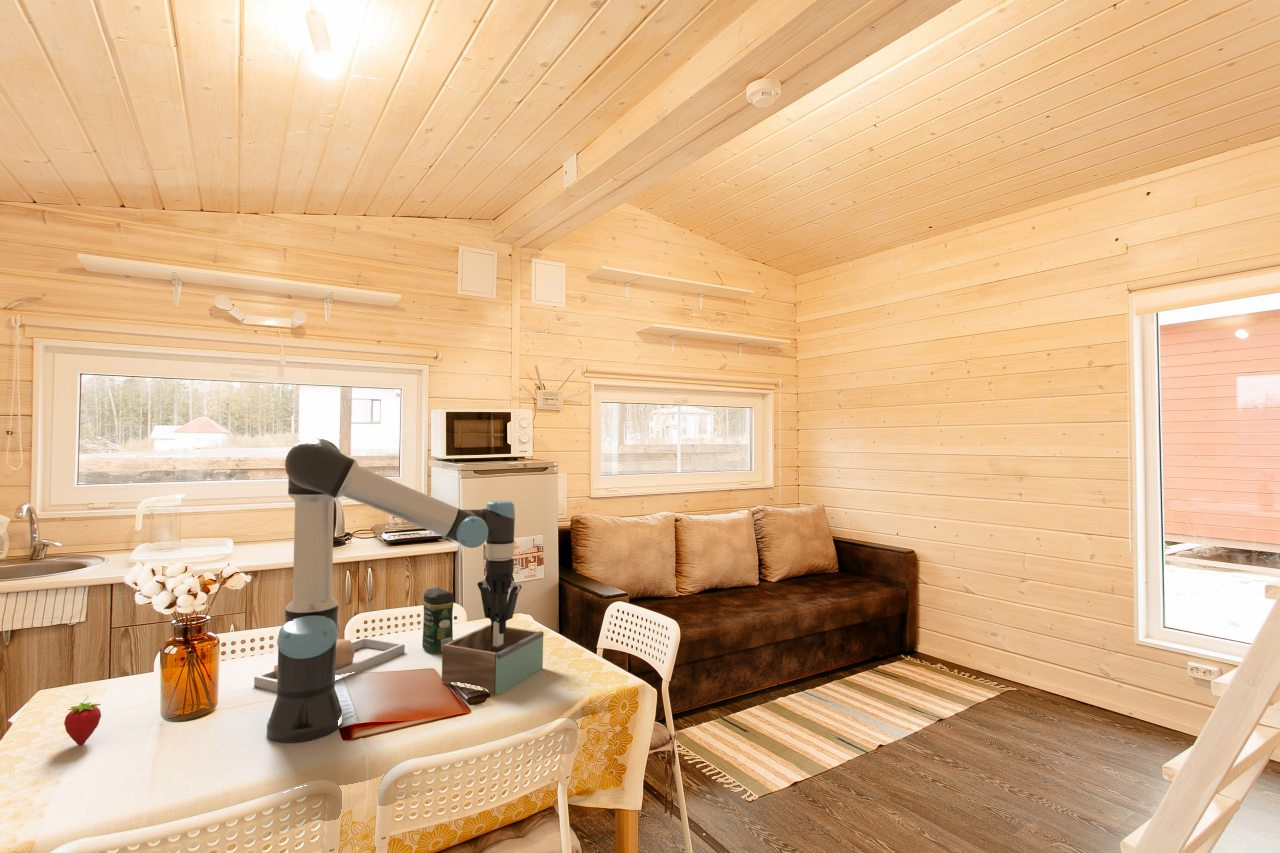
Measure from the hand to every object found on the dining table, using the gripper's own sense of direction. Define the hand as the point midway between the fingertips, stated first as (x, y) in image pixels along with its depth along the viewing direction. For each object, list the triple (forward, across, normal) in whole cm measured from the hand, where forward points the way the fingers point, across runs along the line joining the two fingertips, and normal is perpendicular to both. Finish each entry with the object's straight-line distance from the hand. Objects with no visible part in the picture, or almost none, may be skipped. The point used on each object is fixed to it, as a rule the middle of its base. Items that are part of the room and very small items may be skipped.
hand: (498, 644), depth 176 cm
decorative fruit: (+10, +57, +67) cm, 89 cm away
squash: (+10, +46, +18) cm, 51 cm away
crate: (+9, +1, 0) cm, 9 cm away
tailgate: (+8, -8, 0) cm, 11 cm away
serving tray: (+9, +46, +12) cm, 49 cm away
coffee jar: (+10, +31, -13) cm, 35 cm away
